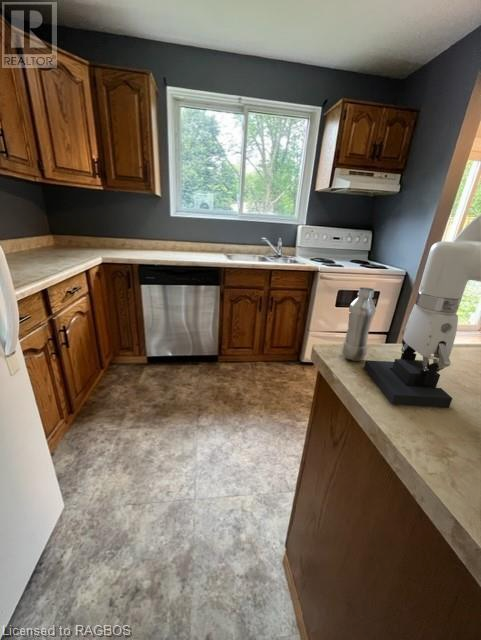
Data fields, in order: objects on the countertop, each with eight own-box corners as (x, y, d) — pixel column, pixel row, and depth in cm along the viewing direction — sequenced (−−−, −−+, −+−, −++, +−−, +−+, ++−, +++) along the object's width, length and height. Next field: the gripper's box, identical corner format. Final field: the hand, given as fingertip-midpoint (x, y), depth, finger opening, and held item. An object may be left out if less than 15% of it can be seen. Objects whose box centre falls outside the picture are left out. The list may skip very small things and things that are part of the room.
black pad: (418, 372, 66) (422, 360, 65) (435, 388, 60) (440, 374, 59) (391, 371, 67) (394, 358, 65) (406, 386, 60) (410, 373, 59)
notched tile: (409, 370, 71) (411, 362, 70) (449, 408, 57) (452, 398, 56) (363, 368, 71) (365, 360, 70) (391, 404, 57) (394, 394, 56)
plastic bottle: (370, 361, 75) (387, 291, 68) (351, 365, 72) (366, 292, 65) (353, 351, 80) (367, 285, 73) (334, 354, 78) (347, 286, 71)
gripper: (488, 317, 49) (456, 400, 55) (428, 293, 65) (409, 359, 71) (447, 315, 49) (419, 398, 55) (397, 291, 65) (380, 357, 71)
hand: (413, 375), depth 63 cm, fingers closed on black pad, 6 cm apart
